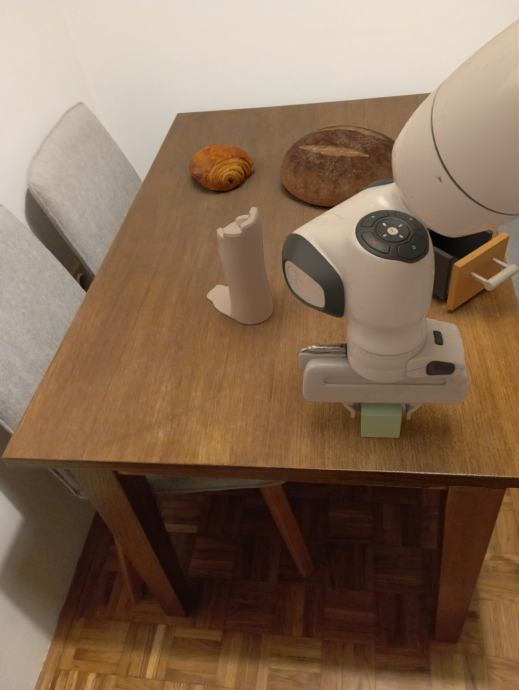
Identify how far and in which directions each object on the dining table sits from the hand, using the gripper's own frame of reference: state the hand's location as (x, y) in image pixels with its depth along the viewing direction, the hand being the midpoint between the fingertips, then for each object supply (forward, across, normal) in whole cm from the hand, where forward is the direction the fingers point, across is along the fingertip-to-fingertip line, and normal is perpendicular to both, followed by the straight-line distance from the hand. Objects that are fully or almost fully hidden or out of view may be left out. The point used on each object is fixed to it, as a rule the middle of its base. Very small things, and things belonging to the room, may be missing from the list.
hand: (380, 414), depth 71 cm
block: (+2, 0, 0) cm, 2 cm away
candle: (+2, -23, +25) cm, 34 cm away
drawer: (+1, +13, +28) cm, 31 cm away
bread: (+2, -6, +66) cm, 66 cm away
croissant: (+2, -34, +70) cm, 77 cm away
